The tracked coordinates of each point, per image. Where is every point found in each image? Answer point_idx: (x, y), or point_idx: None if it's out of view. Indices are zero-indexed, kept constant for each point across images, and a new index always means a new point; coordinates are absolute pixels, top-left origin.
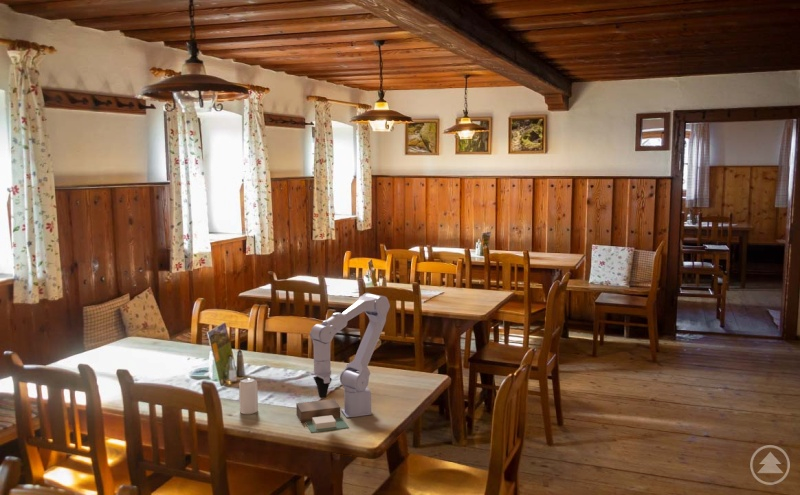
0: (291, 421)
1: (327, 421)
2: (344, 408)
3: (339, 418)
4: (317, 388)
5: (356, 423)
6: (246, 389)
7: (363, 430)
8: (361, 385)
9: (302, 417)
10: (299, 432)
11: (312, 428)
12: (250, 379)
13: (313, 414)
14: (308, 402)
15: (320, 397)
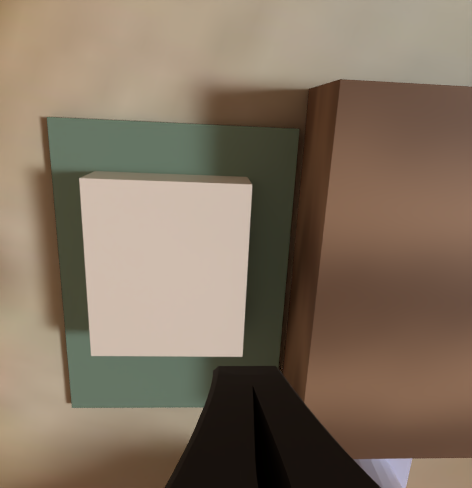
0: (382, 7)
1: (105, 291)
2: (360, 465)
3: None
4: (341, 458)
5: (143, 462)
6: None
7: (5, 473)
8: None
9: (319, 99)
10: (90, 14)
11: (126, 148)
12: None
13: (312, 213)
14: None
15: (215, 375)
